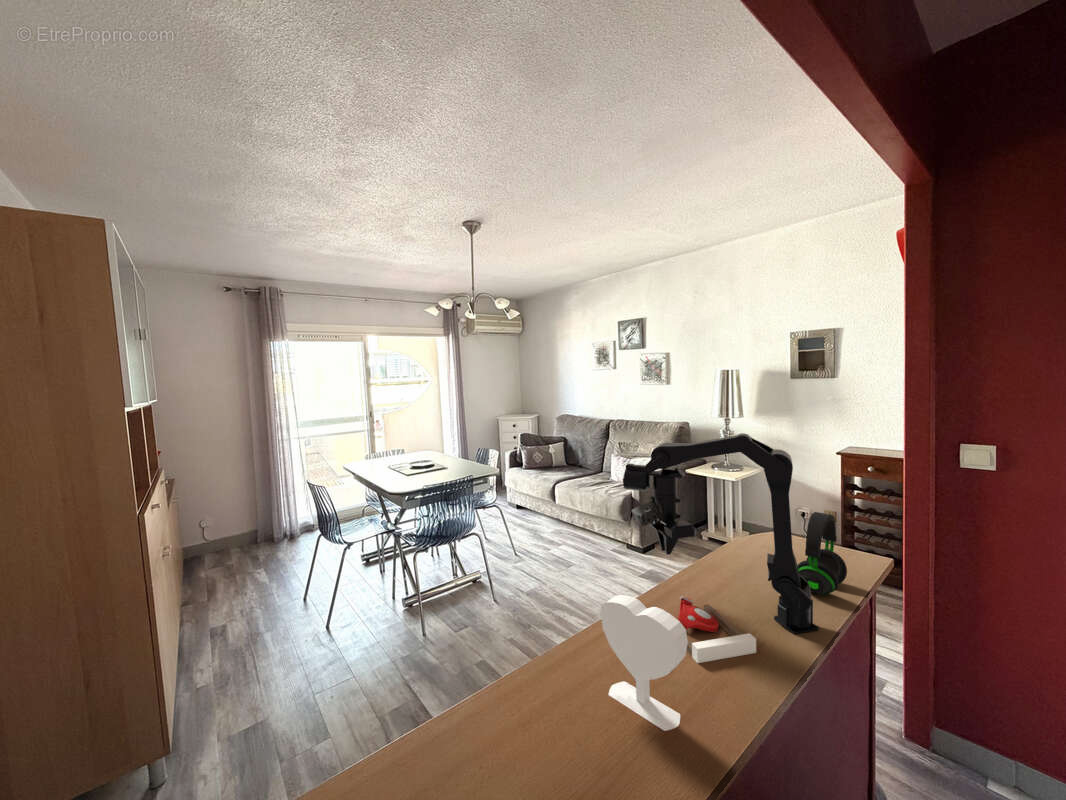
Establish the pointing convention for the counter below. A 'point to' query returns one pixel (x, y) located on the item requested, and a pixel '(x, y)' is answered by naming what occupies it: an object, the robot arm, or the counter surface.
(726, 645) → the guide channel
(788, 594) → the robot arm
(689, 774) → the counter surface
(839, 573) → the headphones
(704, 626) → the tracker holder
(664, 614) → the heart sculpture
